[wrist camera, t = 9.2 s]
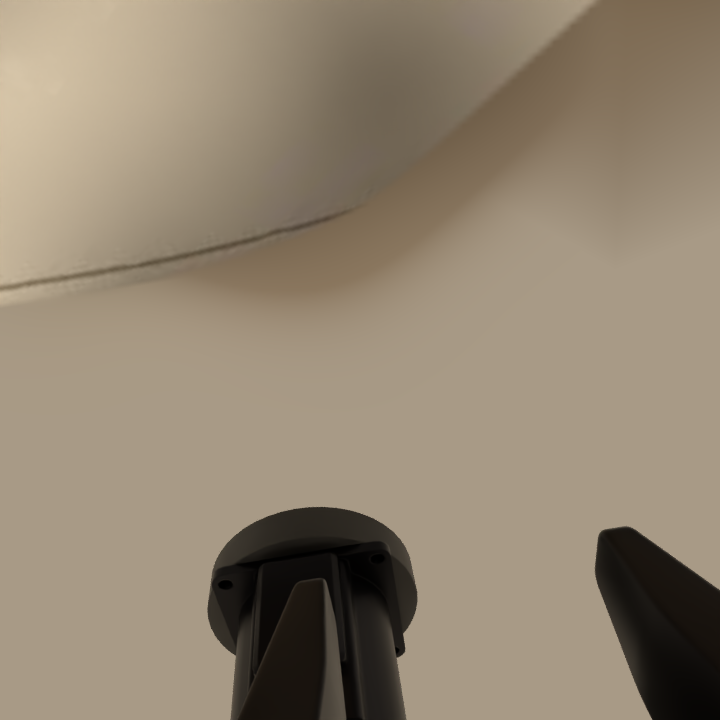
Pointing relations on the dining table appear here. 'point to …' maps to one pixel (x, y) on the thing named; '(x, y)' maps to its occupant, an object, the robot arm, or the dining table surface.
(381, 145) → the dining table surface
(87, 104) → the dining table surface
